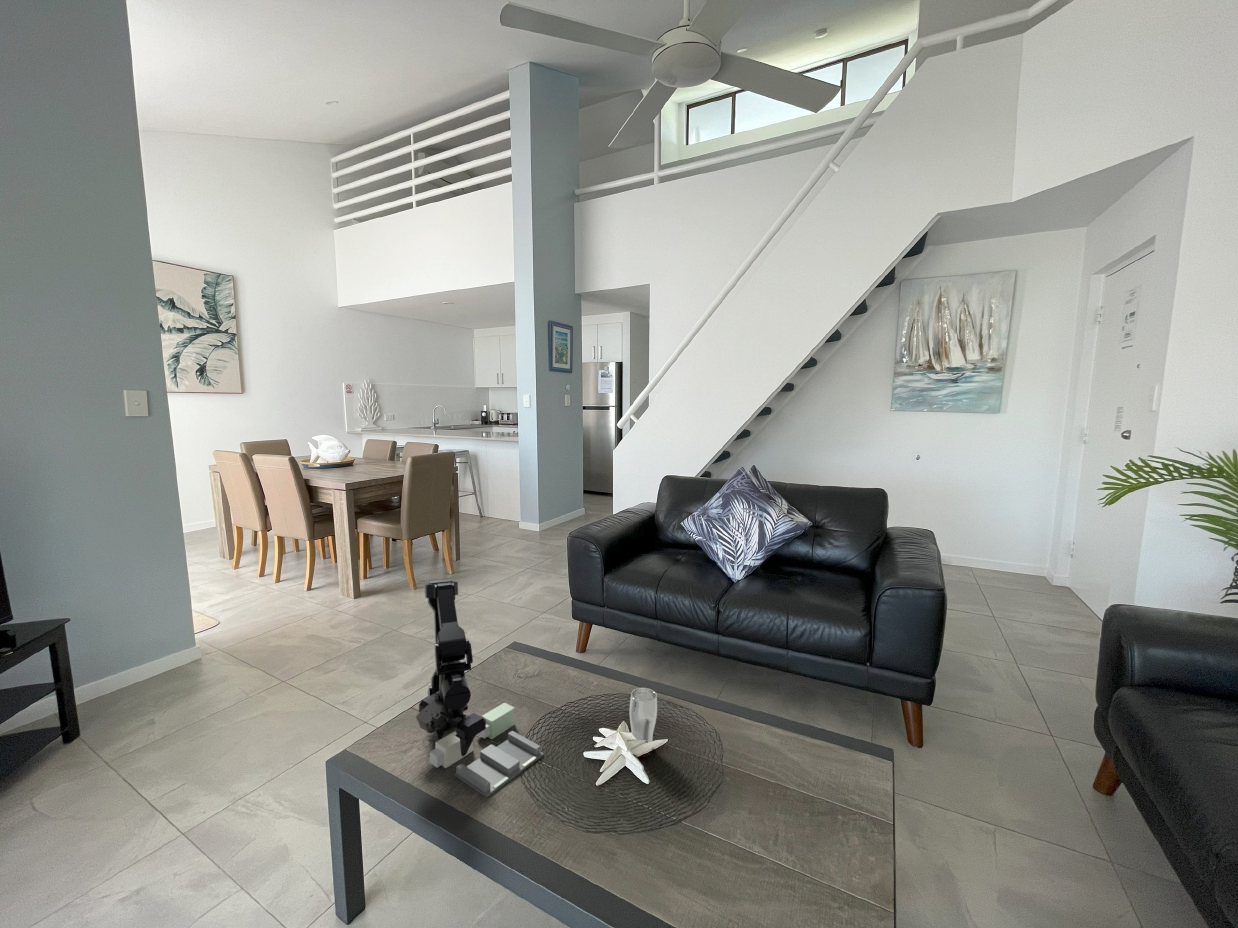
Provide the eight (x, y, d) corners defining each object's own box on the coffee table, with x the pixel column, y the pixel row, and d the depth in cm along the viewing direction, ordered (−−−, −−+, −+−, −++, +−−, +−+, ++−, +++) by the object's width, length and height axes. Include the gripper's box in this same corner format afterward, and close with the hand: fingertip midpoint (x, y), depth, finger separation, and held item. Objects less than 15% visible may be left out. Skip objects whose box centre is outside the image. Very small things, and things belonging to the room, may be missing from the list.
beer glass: (653, 760, 129) (655, 703, 128) (625, 756, 131) (627, 699, 129) (656, 743, 136) (659, 689, 134) (630, 739, 137) (632, 685, 136)
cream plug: (462, 744, 133) (462, 726, 132) (472, 751, 131) (473, 732, 130) (428, 765, 125) (428, 746, 124) (438, 773, 123) (438, 753, 122)
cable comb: (455, 776, 122) (455, 767, 121) (512, 737, 136) (513, 729, 136) (486, 797, 115) (487, 788, 115) (543, 755, 130) (543, 746, 130)
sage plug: (504, 719, 144) (504, 702, 144) (514, 724, 142) (514, 707, 141) (475, 737, 136) (475, 719, 136) (485, 743, 134) (485, 725, 133)
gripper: (398, 687, 125) (399, 748, 126) (447, 716, 114) (447, 782, 116) (438, 669, 134) (439, 726, 136) (487, 694, 123) (487, 756, 125)
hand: (451, 747), depth 128 cm, fingers open, 9 cm apart
